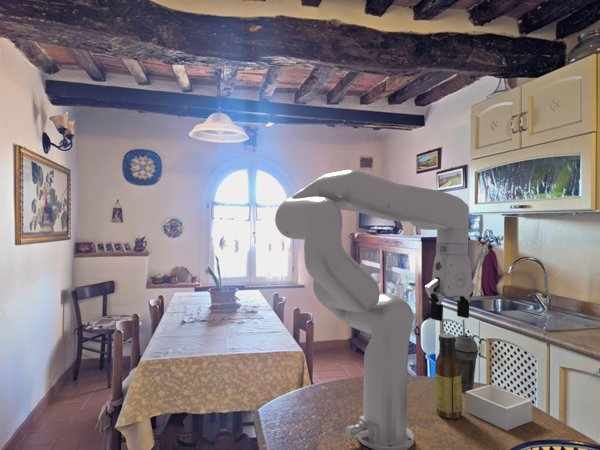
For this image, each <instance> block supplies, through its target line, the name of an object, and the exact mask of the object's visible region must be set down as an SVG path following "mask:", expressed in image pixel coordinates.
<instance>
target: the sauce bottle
mask: <svg viewBox="0 0 600 450" xmlns="http://www.w3.org/2000/svg"><path fill="white" fill-rule="evenodd" d="M456 338H457V337H456V335H455V334H453V333H452V334H451V333H440V334H438V341H439V342H438V343H439V350H438V351H439V352H438V355H437V357H436V359H435V366H434V381H435V382H434V383H435V384H434V385H435V387H434V388H435V389H434V390H435V407H436V414H438V415H439V416H441V417H443V418H445V419H451V420H455V419H456V420H457V419H460V418H461V417H462V411H463V397H462V396H463V393H462V392H463V391H462V387H461V370H460V369H461V366H460V361H459V359H458V357H457V355H456V351H455V342H456Z"/></svg>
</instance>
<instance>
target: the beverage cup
mask: <svg viewBox="0 0 600 450" xmlns="http://www.w3.org/2000/svg"><path fill="white" fill-rule="evenodd" d="M465 326H466V325H465V319H462V334H461V335H459V336H457V337H456V342H455V351H456V355H457V357H458V359H459V361H460V366H461V369H460V370H461V387H462V392H466V391H470V390H473V389H474V384H475V374H476V364H477V363H476V362H477V358H478V353H479V349H478V344H477V341H476V340H475V339H474V338H473V337H472V336H470V335H467V334H466V330H465V329H466V327H465Z"/></svg>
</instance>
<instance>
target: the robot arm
mask: <svg viewBox="0 0 600 450" xmlns="http://www.w3.org/2000/svg"><path fill="white" fill-rule="evenodd" d="M341 211H351V212H356V213H359V214H363V215H368V216H371V217H375V218H379V219H382V220H385V221H393V222H406V223H407V222H409V223H410V224H411V225H412V226H414V228H417V229H419V230H429V231H436V246H435V251H436V254H435V257H434V261H433V268H432V277H431V281H430V282H429V283H427V284H426V285H425V286H424V291H425V292H426V297H427V299H428V300H429V303H430V304H431V305H430V308H431V309H430V319H431V320H435V321H438V322H442V321H443V319H444V304H442V303H443V302H444V299H445V298H446V297H448V298H456V297H457V298H458V300H457V303H456V305H457V306H456V310H457V311H456V313H457V314H456V316H458V317H460V318H463V319H469V318H470V303H471V302H472V297H473V296H474V291H475V288H476V284H475V283H474V282H473V275H472V265H471V260H470V256H469V232H470V231H469V230H470V229H469V226H470V206H469V205H468V203H466V202H465V201H464V200H463V199H462V198H460V197H459V196H457V195H454V194H451V193H448V192H446V191H441V190H437V189H433V188H432V189H431V188H424V187H420V186H414V185H409V184H401V183H397V182H394V181H391V180H388V179H385V178H382V177H379V176H376V175H374V174H370V173H368V172H364V171H361V170H358V169H346V170H341V171H336V172H331V173H326V174H323V175H322V176H320V177H318V178H316V179H315V180H314V181H312V182H311V183H309V184H308V185H306V186H305V187H303V188H302V189H300V190H298V192H296V193H294V194H293V195H291V196H290V197H288V198H287V199H286V200H284V201H283V202H282V203H281V204H280V205H279V207H278V208H277V210H276V213H275V217H274V218H275V219H274V222H275V226H276V228H277V230H278V231H279V233H280V234H281V235H282V236H284V237H286V238H287V239H288V238H289V239H290V240H291V239H292V240H304V244H303V254H304V257H303V258H304V265H305V268H306V271H307V273H309V276H311V278H312V279H313V281H312V288H313V293H314V295H315V297H316V299H317V301H319V303H320V304H321V305H322V306H323V307H324V308H326V309H327V310H328V311H330V312H331V313H332V314H334V315H335V316H336V317H337V318H338V319H340V320H341V321H342V322H343V323H344V324H346V325H348V326H349V327H351V328H352V329H355V330H358V331H362V332H363V333H367V334H369V335H371V338H370V340H369V342H368V344H367V346H366V348H365V351H364V355H363V403H362V411H363V413H362V415H361V416H359V417H358V419H359V420H358V422H356V423H355V424H352V425H348V426H346V427H345V429H344V432H345V434H346V436H347V437H353V436H355V437H356V439H357V440H358V441H359V442H360V443H361V444H362V445H363V446H365V447H367V448H370V449H372V450H408V449H410V448H411V447H412V446H413V445H414V444H415V435H414V433H413V431H412V430H411V429H410V428H409V427H408V422H407V421H408V366H409V363H408V362H409V345H410V340H411V335H412V330H413V326H414V325H413V324H414V312H413V309H412V307H411V306H410V304H409V303H408V301H406V300H405V299H403V298H401V297H399V296H396V295H393V294H388V293H383V292H381V291H380V287H379V284H378V282H377V281H376V279H375V278H374V277H373V276H372V275H371V273H369V272H368V271H367V270H366V269H365V268H363V266H361V264H359V263H358V262H357V261H356V260H355V259H354V258H352V256H351V255H350V254H349V253H347V252H348V251H346V250H345V248H344V245H343V241H342V235H343V233H342V232H343V214H342V212H341Z"/></svg>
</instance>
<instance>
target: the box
mask: <svg viewBox="0 0 600 450" xmlns="http://www.w3.org/2000/svg"><path fill="white" fill-rule="evenodd" d="M464 392H465V391H464ZM464 400H465V401H464V402H465V403H464V405H465V408H464V411H465V412H466V413H468V414H470V415H472V416H475V417H476V418H479V419H481V420H483V421H485V422H487V423H489V424H492V425H494V426H496V427H498V428H500V429H502V430H505V431H509V430H513V429H515V428H517V427H519V426H523V425H525V424H527V423H530V422H532V421H533V400H532V399H529V398H528V397H525V396H521V395H519V394H517V393H513V392H511V391H508V390H506V389H503V388H501V387H499V386H498V387H497V386H496V385H492V384H488V385H484V386H480V387H477V388H475V389H474V388H473V390H470V391H466V392H465V399H464Z"/></svg>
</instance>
